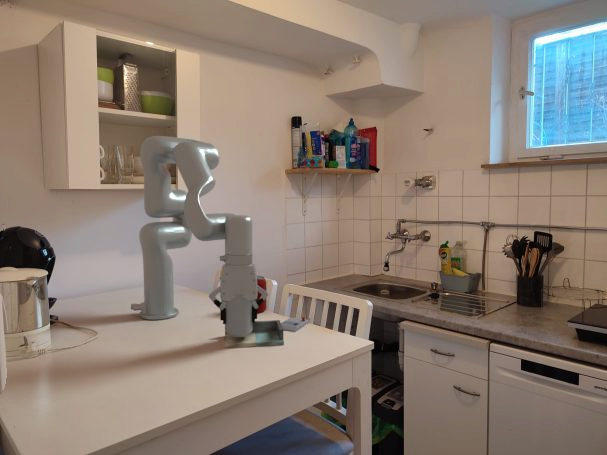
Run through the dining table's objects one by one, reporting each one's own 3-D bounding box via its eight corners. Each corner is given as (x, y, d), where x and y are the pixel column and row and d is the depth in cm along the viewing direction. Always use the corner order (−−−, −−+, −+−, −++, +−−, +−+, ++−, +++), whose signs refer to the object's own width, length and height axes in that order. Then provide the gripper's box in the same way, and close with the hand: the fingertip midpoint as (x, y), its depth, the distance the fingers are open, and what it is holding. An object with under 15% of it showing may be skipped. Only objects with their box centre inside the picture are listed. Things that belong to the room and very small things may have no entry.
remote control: (273, 332, 135) (273, 323, 135) (295, 319, 149) (295, 310, 149) (292, 335, 133) (292, 326, 132) (313, 322, 147) (314, 313, 146)
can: (230, 339, 120) (230, 296, 119) (222, 331, 127) (221, 290, 126) (256, 335, 124) (256, 293, 123) (246, 328, 130) (246, 287, 129)
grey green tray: (225, 347, 120) (225, 333, 120) (225, 335, 130) (225, 322, 130) (283, 344, 123) (283, 330, 123) (279, 333, 133) (279, 320, 133)
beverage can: (267, 308, 160) (267, 275, 159) (264, 313, 153) (264, 279, 152) (249, 308, 161) (249, 275, 160) (245, 313, 154) (245, 279, 153)
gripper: (206, 262, 118) (206, 327, 120) (271, 261, 121) (271, 324, 123) (207, 258, 126) (207, 319, 127) (268, 257, 129) (268, 317, 130)
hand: (238, 321), depth 125 cm, fingers closed on can, 7 cm apart
